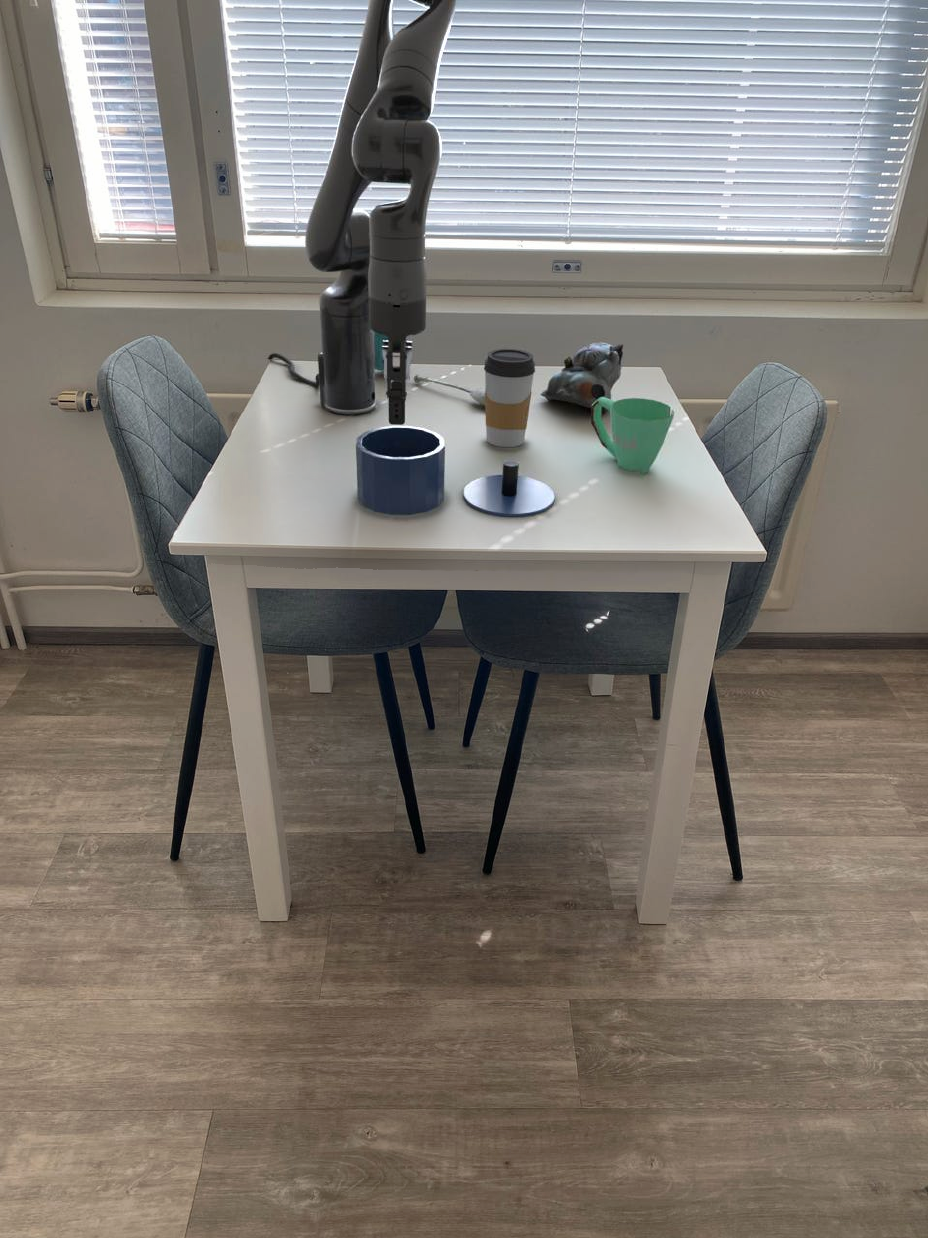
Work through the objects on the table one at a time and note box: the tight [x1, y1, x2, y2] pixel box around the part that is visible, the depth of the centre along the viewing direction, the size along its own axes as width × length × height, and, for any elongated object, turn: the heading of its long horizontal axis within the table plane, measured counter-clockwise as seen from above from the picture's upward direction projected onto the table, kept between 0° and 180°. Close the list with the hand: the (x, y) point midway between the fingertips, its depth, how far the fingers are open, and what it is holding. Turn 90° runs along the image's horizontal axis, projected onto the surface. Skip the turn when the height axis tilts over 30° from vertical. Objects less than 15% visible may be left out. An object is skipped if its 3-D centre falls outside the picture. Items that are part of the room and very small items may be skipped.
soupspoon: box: [413, 374, 485, 407], centre depth 171 cm, size 22×3×7 cm
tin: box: [355, 425, 446, 516], centre depth 130 cm, size 13×13×9 cm
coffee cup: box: [483, 348, 536, 448], centre depth 148 cm, size 8×8×15 cm
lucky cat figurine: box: [540, 342, 624, 415], centre depth 166 cm, size 15×12×14 cm
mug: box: [590, 397, 675, 475], centre depth 144 cm, size 15×10×10 cm
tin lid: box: [462, 459, 556, 518], centre depth 132 cm, size 14×14×6 cm
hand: (397, 412), depth 125 cm, fingers open, 8 cm apart
